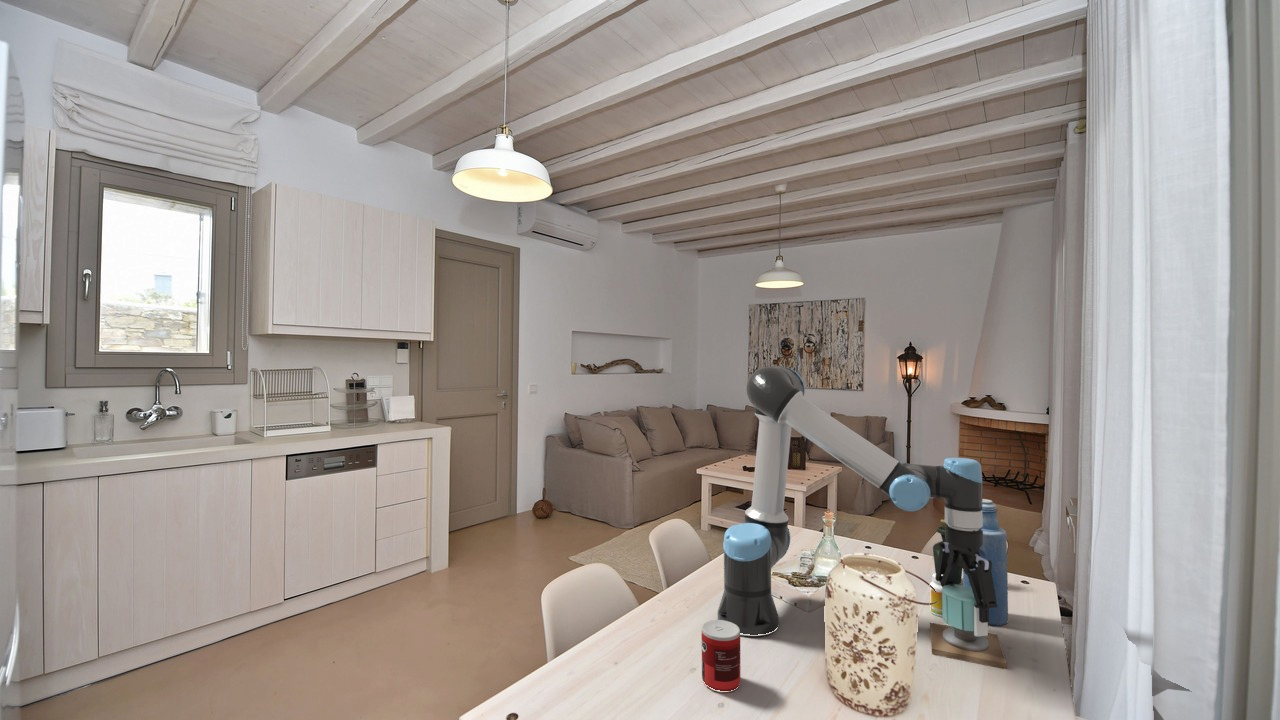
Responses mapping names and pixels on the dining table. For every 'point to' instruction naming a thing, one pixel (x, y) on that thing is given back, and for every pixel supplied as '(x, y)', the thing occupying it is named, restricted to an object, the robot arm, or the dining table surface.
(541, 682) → the dining table surface
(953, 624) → the cap
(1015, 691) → the dining table surface
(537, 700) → the dining table surface
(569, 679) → the dining table surface
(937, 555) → the potion bottle
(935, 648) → the stud post
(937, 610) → the supplement bottle
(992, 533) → the bottle
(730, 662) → the canned food
